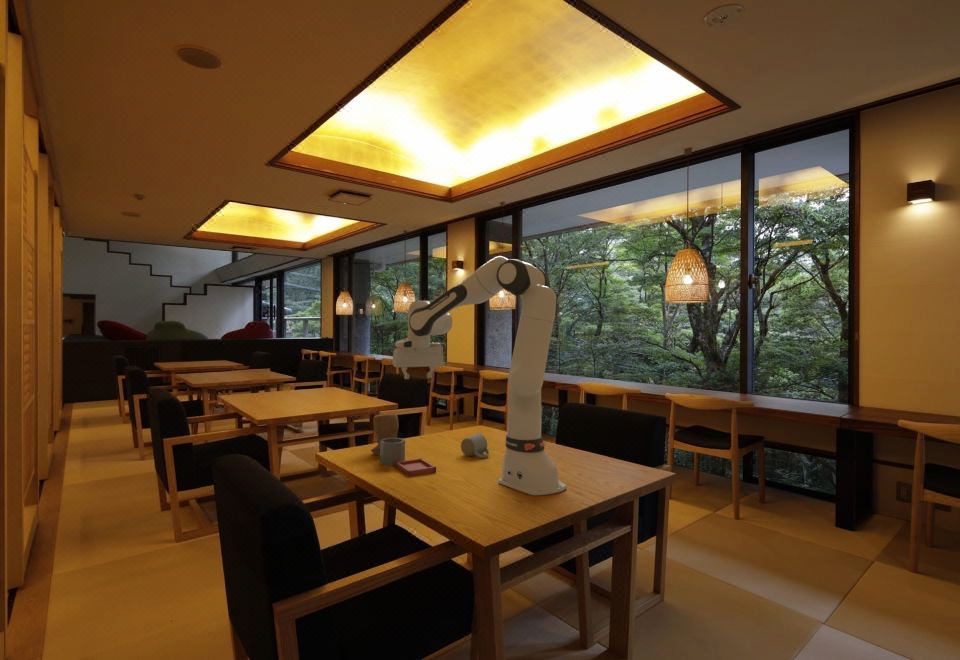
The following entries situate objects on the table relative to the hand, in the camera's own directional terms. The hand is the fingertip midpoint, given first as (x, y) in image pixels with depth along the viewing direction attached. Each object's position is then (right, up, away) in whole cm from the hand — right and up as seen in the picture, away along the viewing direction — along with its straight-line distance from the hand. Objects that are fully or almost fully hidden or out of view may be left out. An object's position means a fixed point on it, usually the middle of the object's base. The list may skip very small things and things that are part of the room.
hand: (418, 378), depth 188 cm
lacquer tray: (+2, -30, -20) cm, 36 cm away
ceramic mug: (+23, -30, -1) cm, 37 cm away
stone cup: (-13, -29, +1) cm, 32 cm away
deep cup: (-8, -29, -13) cm, 33 cm away
